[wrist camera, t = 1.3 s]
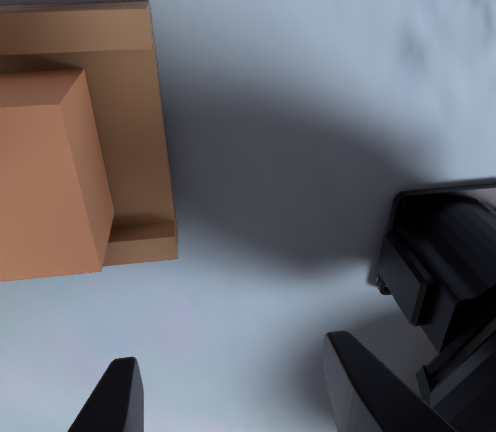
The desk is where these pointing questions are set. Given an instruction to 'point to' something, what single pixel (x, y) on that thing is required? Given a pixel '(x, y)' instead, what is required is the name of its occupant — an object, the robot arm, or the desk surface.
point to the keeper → (50, 177)
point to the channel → (109, 108)
